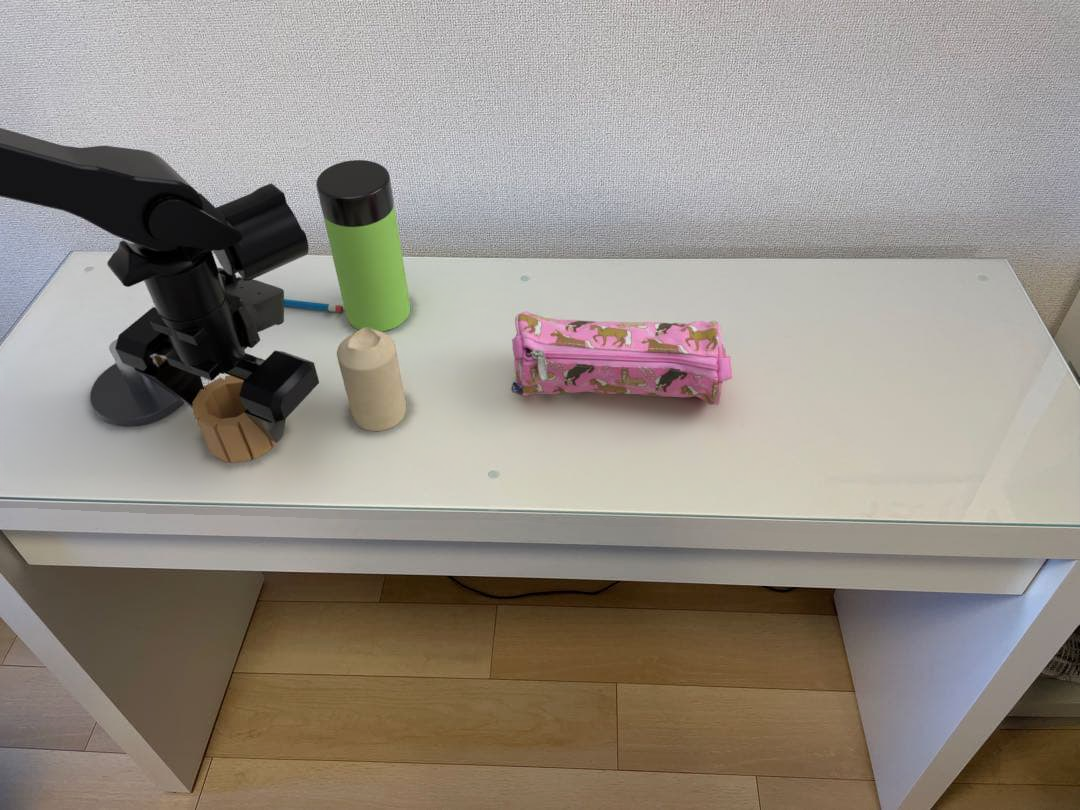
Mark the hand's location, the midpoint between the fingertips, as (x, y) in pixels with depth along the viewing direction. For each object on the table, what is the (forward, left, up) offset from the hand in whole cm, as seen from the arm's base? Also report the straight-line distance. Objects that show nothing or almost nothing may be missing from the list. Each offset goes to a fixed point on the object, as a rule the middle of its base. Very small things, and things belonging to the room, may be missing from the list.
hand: (240, 424), depth 83 cm
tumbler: (+18, +12, -2) cm, 22 cm away
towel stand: (-8, +11, -2) cm, 14 cm away
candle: (+13, -3, -2) cm, 13 cm away
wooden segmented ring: (0, 0, -2) cm, 2 cm away
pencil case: (+36, -11, -2) cm, 38 cm away
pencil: (+8, +19, -2) cm, 20 cm away
